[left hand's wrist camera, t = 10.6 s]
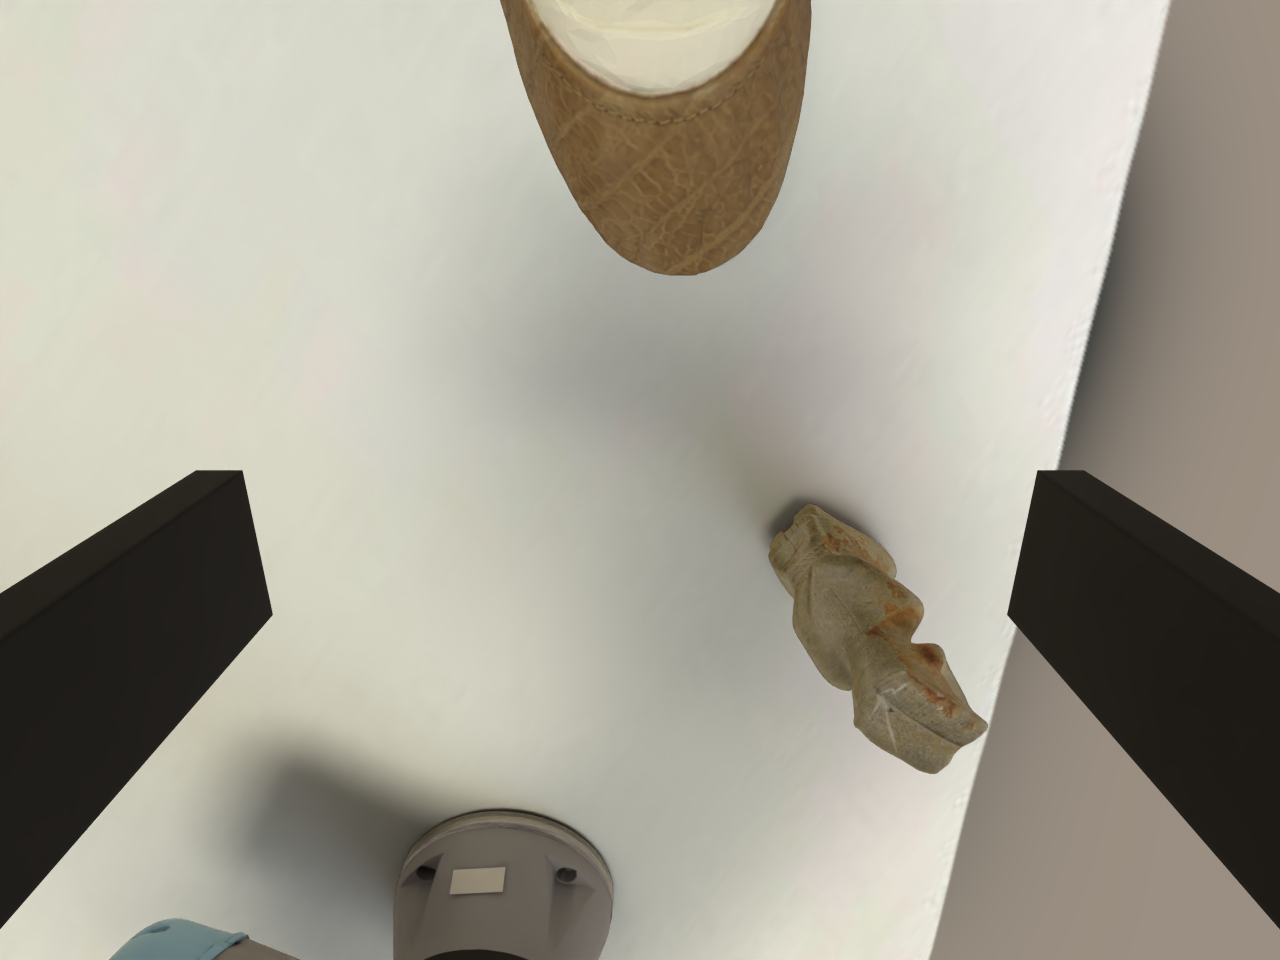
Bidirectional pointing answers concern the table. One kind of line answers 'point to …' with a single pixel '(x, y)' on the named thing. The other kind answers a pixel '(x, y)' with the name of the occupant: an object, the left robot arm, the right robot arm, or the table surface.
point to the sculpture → (872, 640)
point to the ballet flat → (667, 116)
